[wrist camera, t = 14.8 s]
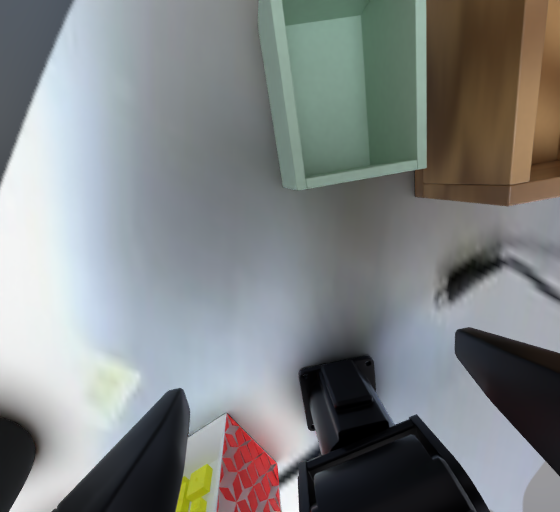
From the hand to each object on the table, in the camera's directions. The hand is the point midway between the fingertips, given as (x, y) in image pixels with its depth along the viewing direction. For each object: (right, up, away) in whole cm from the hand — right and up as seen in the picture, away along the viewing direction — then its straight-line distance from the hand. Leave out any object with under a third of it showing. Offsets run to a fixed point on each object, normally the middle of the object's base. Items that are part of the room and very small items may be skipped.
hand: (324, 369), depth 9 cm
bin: (+1, +14, +9) cm, 16 cm away
